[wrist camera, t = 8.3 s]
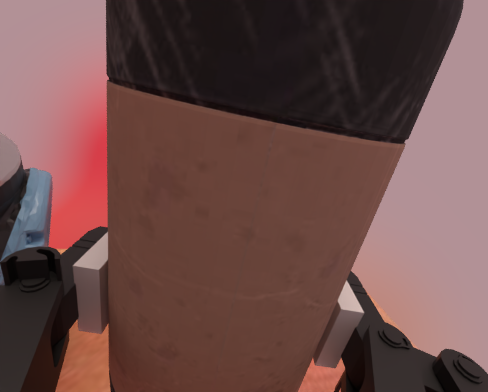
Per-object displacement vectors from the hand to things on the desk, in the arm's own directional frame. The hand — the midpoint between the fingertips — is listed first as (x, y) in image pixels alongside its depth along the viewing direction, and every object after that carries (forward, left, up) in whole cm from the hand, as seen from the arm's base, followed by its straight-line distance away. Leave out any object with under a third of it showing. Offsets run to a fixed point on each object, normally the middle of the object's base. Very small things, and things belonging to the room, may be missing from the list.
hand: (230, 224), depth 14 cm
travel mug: (+4, -3, -11) cm, 12 cm away
